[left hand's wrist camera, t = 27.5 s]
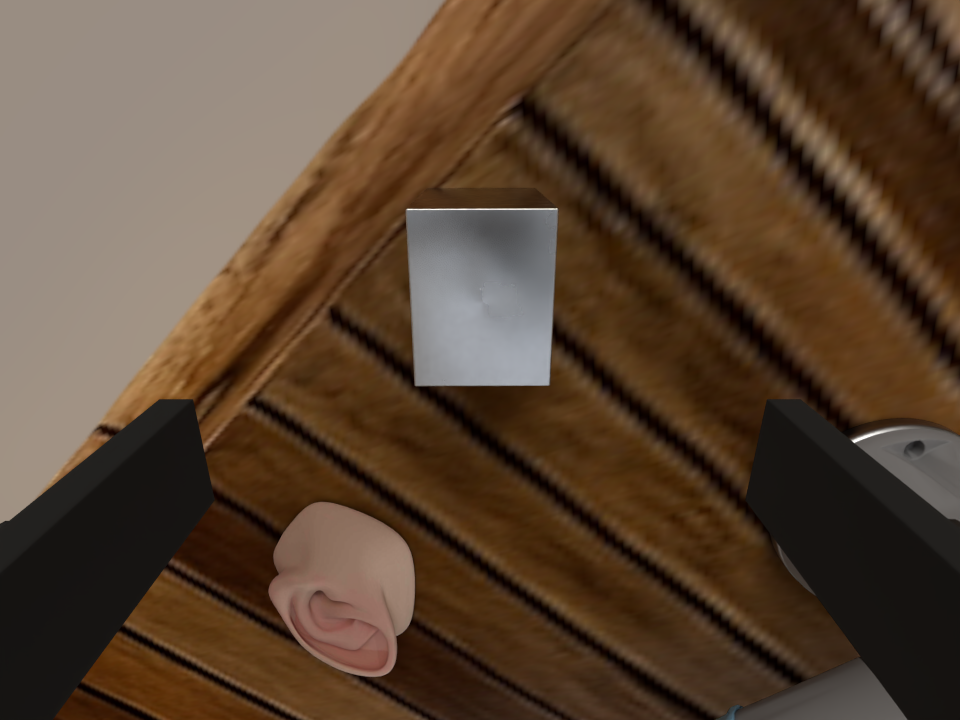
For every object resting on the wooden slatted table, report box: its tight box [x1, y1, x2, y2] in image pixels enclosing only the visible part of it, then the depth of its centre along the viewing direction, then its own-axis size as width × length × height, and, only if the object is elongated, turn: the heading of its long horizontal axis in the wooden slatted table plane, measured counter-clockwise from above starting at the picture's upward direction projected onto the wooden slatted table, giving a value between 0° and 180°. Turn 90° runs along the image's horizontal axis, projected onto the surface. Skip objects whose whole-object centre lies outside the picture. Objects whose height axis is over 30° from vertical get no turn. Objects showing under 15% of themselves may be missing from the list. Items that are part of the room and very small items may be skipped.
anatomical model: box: [269, 502, 415, 677], centre depth 42 cm, size 13×4×12 cm
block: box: [406, 188, 559, 386], centre depth 30 cm, size 8×6×10 cm
